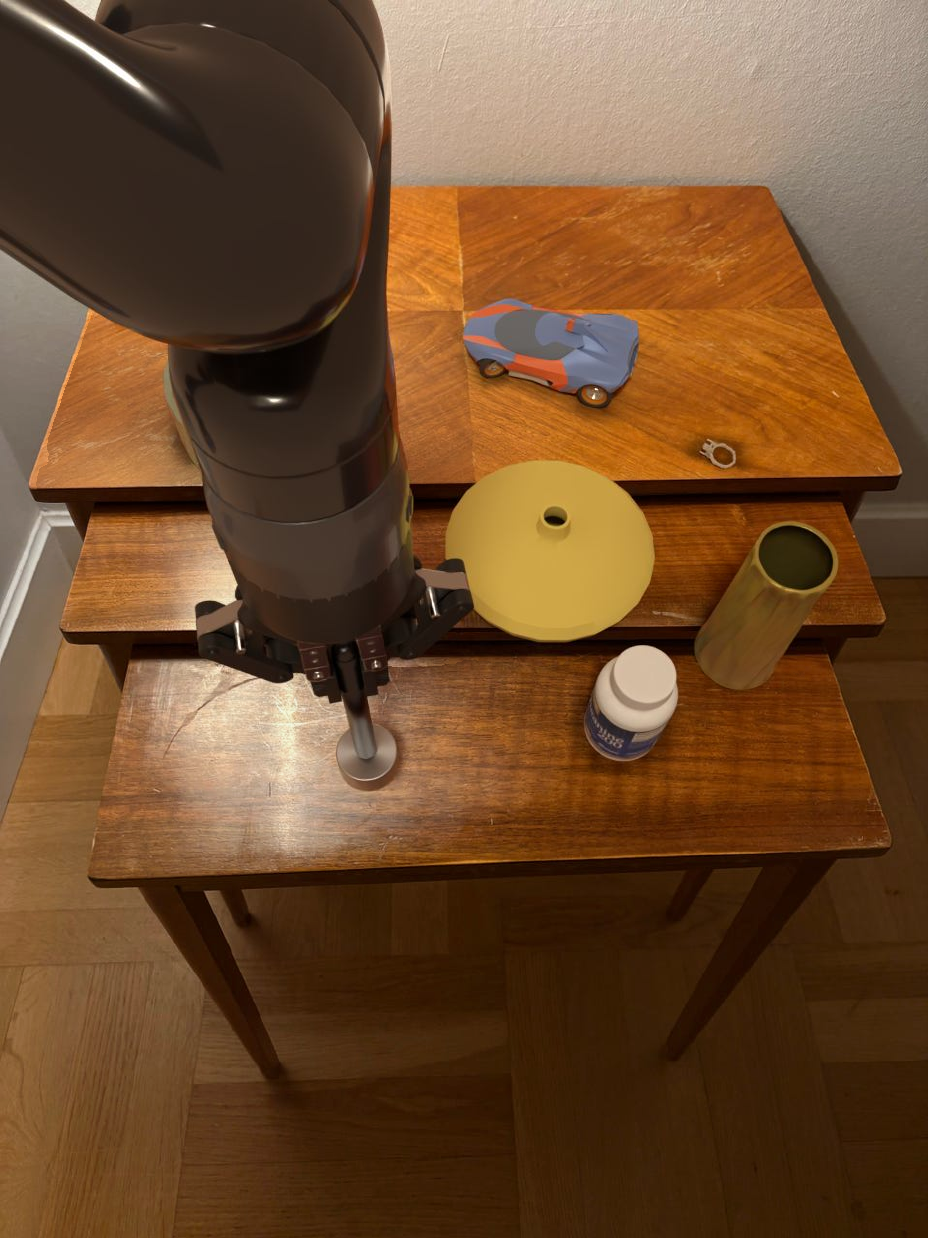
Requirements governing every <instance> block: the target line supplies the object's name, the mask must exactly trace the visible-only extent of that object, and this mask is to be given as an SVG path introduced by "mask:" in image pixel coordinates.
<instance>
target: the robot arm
mask: <svg viewBox="0 0 928 1238" xmlns="http://www.w3.org/2000/svg"><path fill="white" fill-rule="evenodd" d="M388 49H389V48H388V44H387V39H386V35H385V30H384V27H383V24H382V20H381V17H380V14H379V11H378V9H377V6H376V4H375V2H374V0H100V2H99V5H98V8H97V11H96V13H95V18H94V19H93V18H92V17H90V16H88V15H87V14H86V13H84V12H83V11H82V10H79V9H78V8H77V7H75V6H74V5H73V4H71V3H70V2H68V1H67V0H0V251H1V252H2V253H4V254H6V255H7V256H8V257H10V258H12V259H13V260H14V261H16V262H18V263H19V264H20V265H22V266H24V267H25V268H26V269H28V270H29V271H31V272H33V274H35V275H37V276H38V277H40V278H41V279H43V280H44V281H46V282H48V283H49V284H51V286H53V287H55V288H56V289H58V290H59V291H61V292H63V293H64V294H65V295H67V296H68V297H70V298H72V299H73V300H74V301H76V302H78V303H80V304H81V305H83V306H84V307H86V308H88V309H90V310H91V311H93V312H95V313H97V314H98V315H100V316H101V317H103V318H105V319H106V320H108V321H111V322H112V323H114V324H116V325H118V326H121V327H123V328H125V329H127V330H129V331H131V332H134V333H136V334H138V335H139V336H142V337H144V338H147V339H150V340H153V341H155V342H159V343H162V344H166V345H167V359H168V364H169V376H170V382H171V387H172V391H173V395H174V399H175V402H176V405H177V408H178V411H179V414H180V417H181V420H182V422H183V425H184V428H185V430H186V433H187V436H188V438H189V441H190V444H191V446H192V449H193V451H194V454H195V457H196V459H197V462H198V465H199V467H200V470H199V471H200V475H201V481H202V490H203V494H204V498H205V502H206V506H207V509H208V513H209V516H210V519H211V528H212V531H213V534H214V536H215V539H216V541H217V542H218V545H219V548H220V550H222V551H223V552H224V554H225V557H226V560H227V562H228V565H229V566H230V570H231V572H232V575H233V577H234V579H235V582H236V587H235V589H234V599H235V600H234V601H232V602H230V603H228V604H224V603H222V602H221V601H220V602H219V601H217V600H214V599H213V600H211V599H209V600H208V599H207V600H202V601H200V602H198V603H196V604H195V606H194V615H195V630H196V640H197V645H198V646H197V647H198V655H199V657H201V658H202V659H205V660H208V661H211V662H213V663H216V664H219V665H222V666H225V667H228V668H230V669H233V670H237V671H238V672H242V673H245V674H246V675H250V676H252V677H255V678H258V679H261V680H263V681H267V682H270V683H272V684H284V683H288V682H291V681H292V680H293V679H294V677H295V675H294V674H302V675H305V677H306V680H307V681H308V682H310V685H311V686H310V687H311V688H312V692H313V695H314V696H316V697H318V698H324V697H327V700H328V704H329V705H332V704H337V703H343V699H342V695H341V689H340V685H339V681H338V677H337V673H336V669H335V665H334V661H333V659H332V655H331V646H332V645H333V644H336V643H339V642H347V641H355V642H356V643H357V645H358V649H359V659H360V665H361V671H362V676H363V682H364V687H365V692H366V697H368V698H370V697H374V696H375V697H376V696H379V695H380V693H379V687H384V686H387V685H388V684H389V682H390V681H391V680H390V672H389V671H390V670H389V661H390V660H391V659H392V658H394V657H397V656H398V657H399V659H400V660H403V661H411V660H415V659H418V658H420V657H421V656H422V655H423V654H425V653H426V652H427V651H428V650H429V649H430V648H432V647H433V646H434V645H435V644H436V643H437V642H438V641H440V640H441V639H442V638H443V637H444V636H445V635H446V634H447V633H449V631H451V630H452V629H453V628H454V627H455V626H457V624H459V623H460V622H461V621H462V620H464V618H466V616H467V615H468V614H470V613H471V612H472V611H474V603H473V599H472V595H471V590H470V586H469V582H468V578H467V574H466V569H465V565H464V561H463V560H461V559H458V558H453V559H448V560H446V559H445V560H444V561H442V562H440V564H439V565H438V566H437V567H436V568H434V569H429V568H423V562H422V560H421V559H420V558H419V557H418V555H416V554H415V553H414V545H413V529H412V528H413V526H412V525H413V524H412V516H413V512H414V495H413V492H412V488H410V486H411V485H410V475H409V466H408V460H407V456H406V452H405V449H404V444H403V441H402V438H401V434H400V427H399V423H400V422H399V410H398V409H399V407H398V395H397V394H398V392H397V378H396V370H395V361H394V355H393V350H392V343H391V337H390V327H389V315H388V314H389V313H388V296H387V295H388V294H387V290H388V289H387V287H388V286H387V285H388V284H387V283H388V282H387V281H388V263H389V249H390V248H389V247H390V246H389V244H390V221H391V220H390V219H391V196H392V195H391V194H392V193H391V191H392V157H393V152H392V151H393V95H392V94H393V93H392V74H391V63H390V56H389V50H388ZM264 647H265V651H264ZM265 653H266V654H265Z"/></svg>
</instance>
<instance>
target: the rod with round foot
mask: <svg viewBox="0 0 928 1238" xmlns="http://www.w3.org/2000/svg"><path fill="white" fill-rule="evenodd" d="M331 655H332V659H333V661H334V665H335V669H336V673H337V677H338V681H339V685H340V689H341V696H342V703H343V708H344V711H345V715H346V720H347V724H348V729H347V730H346V731H344V732H343V734H342V735H341V736H340V737H339V739H338V742H337V744H336V747H335V758H336V762H337V766H338V769H339V772H340V775H341V777H342V779H343V780H344V782H346V784H347V785H348V786H350V787H351V788H353V789H355V790H358V791H361V792H375V791H378V790H381V789H383V788H384V787H386V786H388V785H389V784H390V783H391V782H392V781H393V780H394V778H395V777H396V775H397V772H398V770H399V763H400V760H399V752H398V745H397V742H396V741H397V740H396V739H395V736H394V735H393V734H392V732H390V730H388V729H387V728H386V727H384V726H382V725H380V724H377V723H374V722H373V719H372V714H371V709H370V702H369V697H366V692H365V687H364V682H363V676H362V671H361V665H360V659H359V649H358V645H357V642H356V641H347V642H339V643H336V644H333V645H332V646H331Z"/></svg>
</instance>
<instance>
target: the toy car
mask: <svg viewBox="0 0 928 1238" xmlns="http://www.w3.org/2000/svg"><path fill="white" fill-rule="evenodd" d="M462 339H463V342H464V345H465V347H466V349H467V351H468V354H470V356H471V357H472V359H473V360H474V361H475V363H478V368H479V370H480V373H481V375H483V377H485V378H490V379H491V378H497V377H499V376H502V375H503V374H504V373H505V372H506V371H508V376H509V377H515V378H519V379H524V380H529V381H532V382H536V383H538V384H541V385H543V386H546V387H548V388H551V389H554V390H556V391H558V392H560V393H562V392H563V393H567V394H568V393H569V394H573V395H574V394H576V393H577V396H578V398H579V400H580V401H581V402H582V404H584V405H586V406H587V407H592V408H603V407H605V406H607V405H608V404H609V403H610V402H611V400H612V397H613V394H614V392H616V391H617V390H618V389H620V388H621V387H622V386H623V385H626V383H627V381H628V379H629V378H631V377H632V376H633V373H634V370H635V365H636V363H637V358H638V351H639V347H640V346H639V345H640V335H639V325H638V321H636V320H634V319H630V318H629V317H626V316H625V315H622V314H619V313H581V312H580V313H579V312H570V311H563V310H556V309H551V308H545V307H541V306H540V307H539V306H536V305H533V304H529V303H526V302H523V301H521V300H518V299H516V298H512V297H510V298H509V297H508V298H503V299H500V300H498V301H495V302H492V303H490V304H488V305H486V306H484V307H482V308H480V309H478V310H476V311H474V312H473V313H472V314H471V316H470V317H469V318H468V320H467V322H466V323H465V325H464V328H463V331H462Z"/></svg>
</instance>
